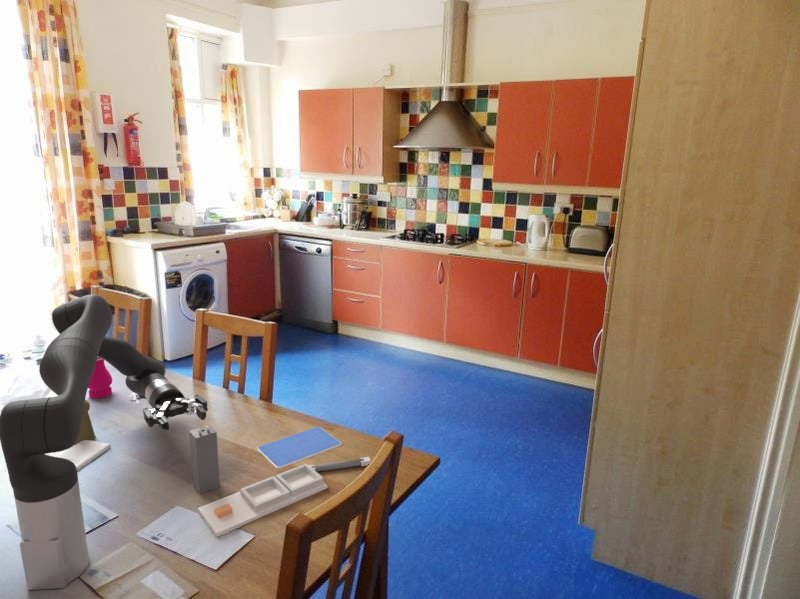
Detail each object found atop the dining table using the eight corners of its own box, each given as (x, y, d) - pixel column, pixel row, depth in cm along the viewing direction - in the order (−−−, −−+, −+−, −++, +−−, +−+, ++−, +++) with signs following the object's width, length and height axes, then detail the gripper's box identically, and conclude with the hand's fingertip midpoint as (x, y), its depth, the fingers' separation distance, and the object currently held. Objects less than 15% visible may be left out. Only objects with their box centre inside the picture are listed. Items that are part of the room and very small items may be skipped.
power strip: (305, 469, 128) (304, 460, 127) (327, 489, 120) (327, 479, 120) (198, 511, 111) (197, 501, 110) (216, 537, 104) (216, 526, 103)
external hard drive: (111, 449, 134) (72, 476, 123) (83, 444, 136) (42, 471, 124) (110, 443, 134) (71, 470, 122) (82, 439, 136) (41, 464, 124)
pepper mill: (88, 391, 165) (81, 331, 160) (114, 388, 168) (107, 329, 163) (86, 401, 159) (78, 338, 154) (113, 397, 162) (106, 336, 157)
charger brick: (219, 486, 120) (216, 427, 116) (199, 494, 117) (195, 433, 113) (213, 478, 123) (209, 420, 119) (193, 486, 120) (188, 426, 116)
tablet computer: (277, 472, 127) (277, 468, 127) (255, 450, 136) (254, 446, 136) (343, 447, 139) (343, 443, 139) (319, 429, 148) (318, 424, 148)
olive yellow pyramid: (63, 441, 136) (58, 403, 133) (86, 431, 141) (81, 394, 139) (78, 447, 134) (72, 408, 131) (100, 437, 139) (95, 399, 136)
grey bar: (369, 461, 131) (369, 456, 131) (370, 465, 130) (370, 459, 129) (304, 470, 127) (304, 465, 126) (305, 475, 125) (305, 469, 125)
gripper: (133, 390, 132) (153, 415, 120) (190, 377, 141) (214, 399, 129) (136, 417, 134) (156, 444, 122) (192, 402, 143) (215, 426, 131)
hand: (185, 421), depth 125 cm, fingers open, 8 cm apart
